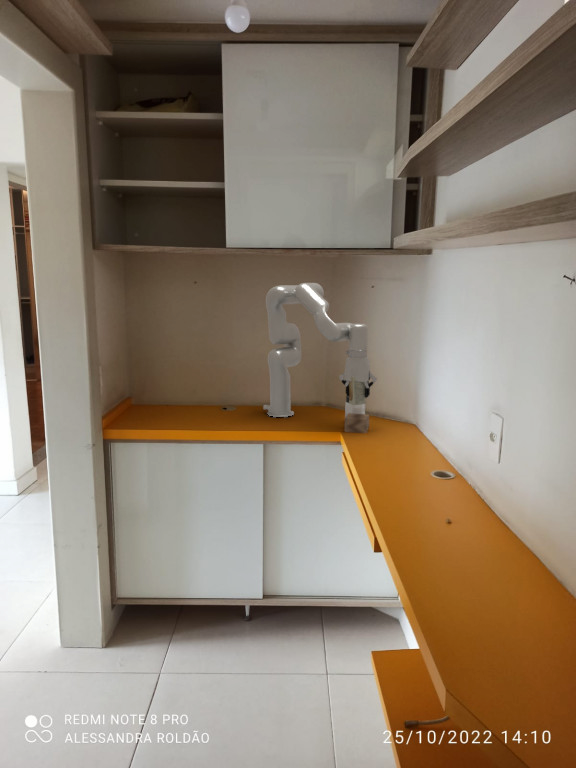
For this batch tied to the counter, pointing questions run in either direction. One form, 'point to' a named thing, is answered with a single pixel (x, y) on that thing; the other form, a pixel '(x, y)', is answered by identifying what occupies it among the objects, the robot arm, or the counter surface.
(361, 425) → the brown square block
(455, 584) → the counter surface
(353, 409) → the jar
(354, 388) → the skincare box
